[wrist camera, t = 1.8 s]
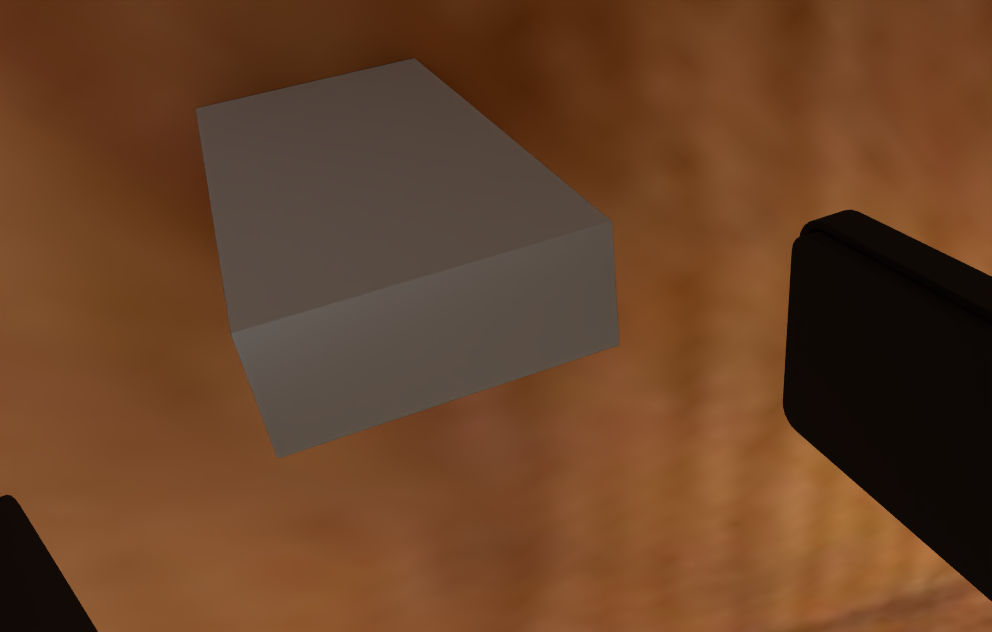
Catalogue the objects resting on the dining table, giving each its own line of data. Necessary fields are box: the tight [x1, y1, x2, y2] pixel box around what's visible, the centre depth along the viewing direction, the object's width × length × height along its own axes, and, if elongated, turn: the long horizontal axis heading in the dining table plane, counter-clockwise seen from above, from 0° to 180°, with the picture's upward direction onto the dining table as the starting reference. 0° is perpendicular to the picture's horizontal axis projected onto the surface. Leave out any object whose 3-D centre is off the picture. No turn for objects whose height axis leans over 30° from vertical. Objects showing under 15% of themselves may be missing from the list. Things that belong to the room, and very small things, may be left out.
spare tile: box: [196, 58, 619, 459], centre depth 15 cm, size 2×5×10 cm, turn 99°
